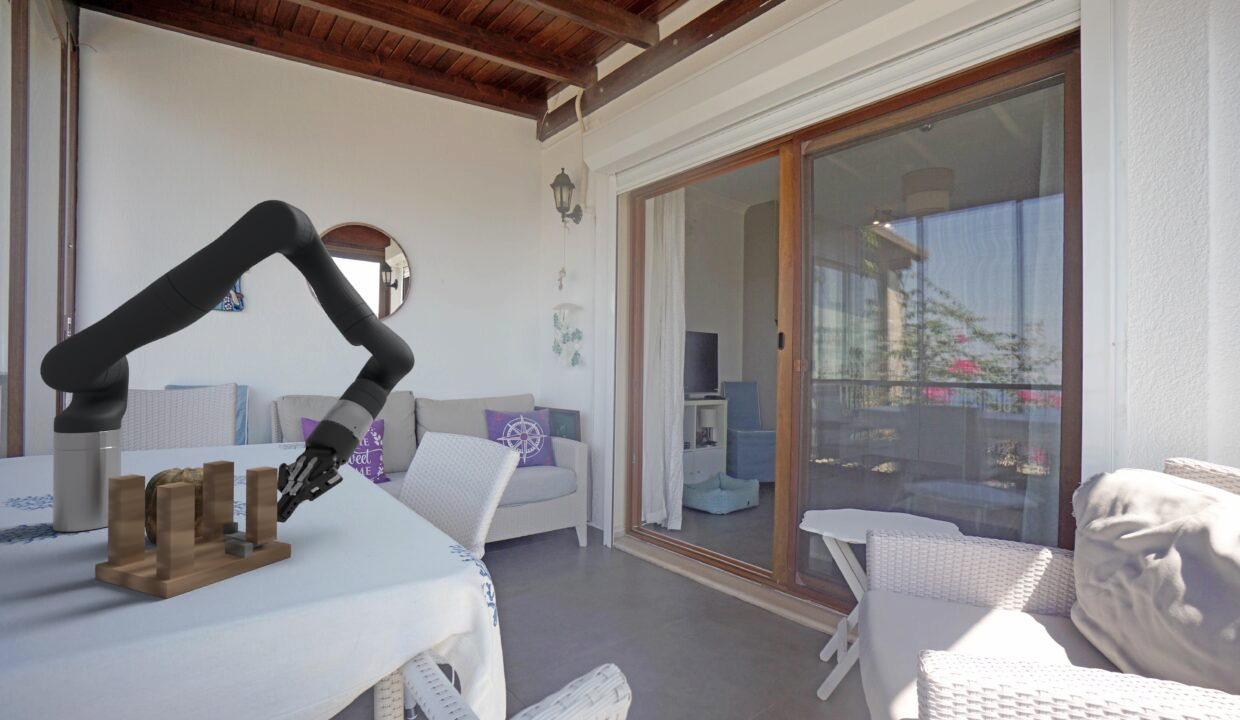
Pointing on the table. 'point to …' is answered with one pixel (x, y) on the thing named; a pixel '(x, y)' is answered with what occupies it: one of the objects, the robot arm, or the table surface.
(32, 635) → the table surface
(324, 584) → the table surface
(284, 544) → the wooden peg stand
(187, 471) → the shell
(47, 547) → the table surface
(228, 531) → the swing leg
